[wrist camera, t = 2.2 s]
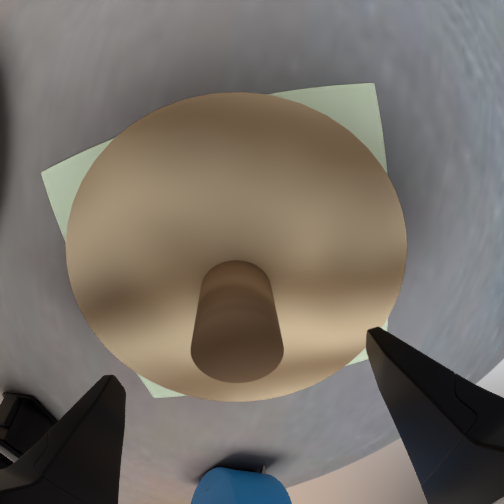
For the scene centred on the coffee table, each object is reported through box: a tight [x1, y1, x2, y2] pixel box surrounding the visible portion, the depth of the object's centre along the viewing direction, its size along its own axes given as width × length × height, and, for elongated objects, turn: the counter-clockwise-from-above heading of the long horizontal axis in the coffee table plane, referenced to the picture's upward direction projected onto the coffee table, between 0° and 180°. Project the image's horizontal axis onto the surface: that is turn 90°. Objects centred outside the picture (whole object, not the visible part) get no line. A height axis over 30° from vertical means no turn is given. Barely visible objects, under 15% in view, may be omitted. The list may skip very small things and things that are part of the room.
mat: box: [41, 83, 388, 398], centre depth 14 cm, size 16×16×1 cm
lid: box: [66, 92, 407, 402], centre depth 12 cm, size 17×17×5 cm
